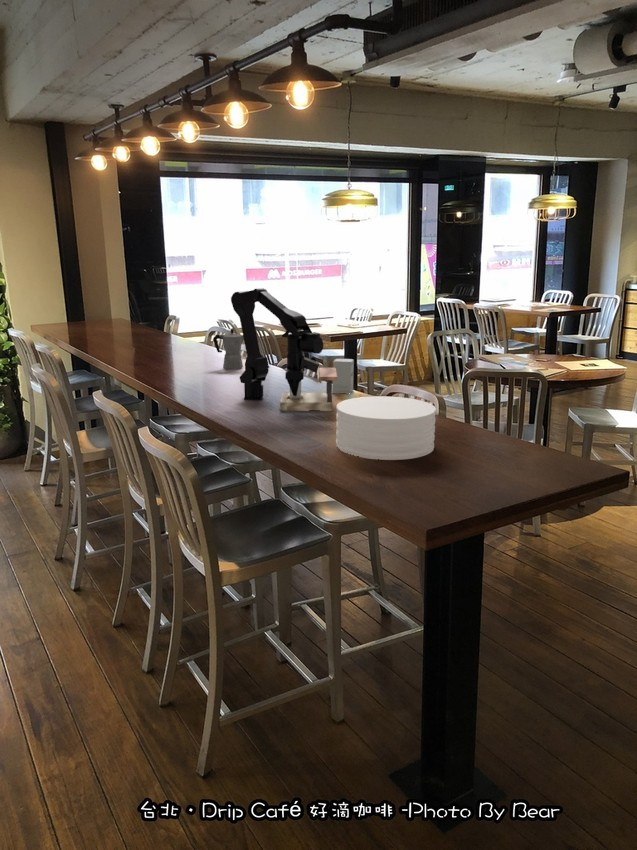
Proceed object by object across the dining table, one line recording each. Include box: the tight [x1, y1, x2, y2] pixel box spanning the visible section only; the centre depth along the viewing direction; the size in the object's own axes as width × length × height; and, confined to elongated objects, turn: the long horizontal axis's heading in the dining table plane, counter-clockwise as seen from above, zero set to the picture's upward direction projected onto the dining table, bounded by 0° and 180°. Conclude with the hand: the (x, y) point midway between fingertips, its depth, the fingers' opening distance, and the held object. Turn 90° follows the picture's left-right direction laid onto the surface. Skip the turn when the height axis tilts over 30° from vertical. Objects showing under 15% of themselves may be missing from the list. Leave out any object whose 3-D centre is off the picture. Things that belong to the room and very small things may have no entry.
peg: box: [289, 380, 302, 399], centre depth 241 cm, size 4×4×9 cm
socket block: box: [279, 367, 337, 412], centre depth 241 cm, size 20×18×12 cm
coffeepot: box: [212, 328, 244, 370], centre depth 314 cm, size 15×9×18 cm, turn 103°
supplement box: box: [332, 358, 355, 395], centre depth 264 cm, size 7×7×13 cm
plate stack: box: [335, 395, 437, 461], centre depth 194 cm, size 28×28×12 cm
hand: (295, 394), depth 242 cm, fingers closed on peg, 4 cm apart
